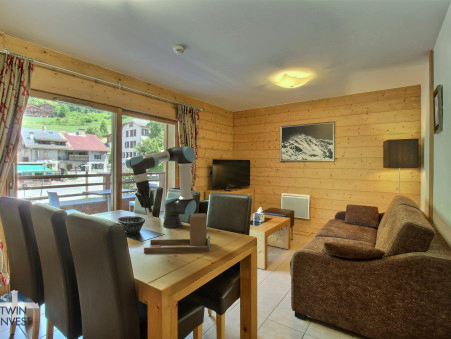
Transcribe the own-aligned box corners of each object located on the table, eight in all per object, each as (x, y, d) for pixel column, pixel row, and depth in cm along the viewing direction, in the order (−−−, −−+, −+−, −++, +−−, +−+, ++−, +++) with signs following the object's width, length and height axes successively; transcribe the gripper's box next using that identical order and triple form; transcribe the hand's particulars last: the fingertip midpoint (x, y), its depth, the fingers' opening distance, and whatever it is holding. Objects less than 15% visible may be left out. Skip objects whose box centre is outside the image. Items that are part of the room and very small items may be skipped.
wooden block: (206, 249, 147) (206, 216, 146) (190, 249, 146) (189, 217, 145) (206, 243, 157) (206, 213, 156) (191, 244, 156) (190, 213, 155)
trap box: (150, 244, 156) (150, 235, 156) (210, 243, 158) (210, 233, 157) (143, 253, 141) (143, 243, 141) (209, 251, 143) (209, 241, 142)
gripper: (129, 183, 147) (138, 220, 150) (147, 180, 144) (156, 218, 146) (136, 181, 154) (145, 216, 157) (154, 178, 151) (162, 214, 153)
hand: (150, 217), depth 151 cm, fingers closed
